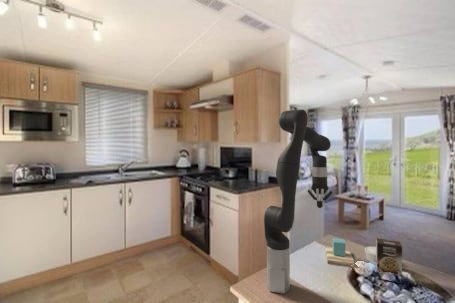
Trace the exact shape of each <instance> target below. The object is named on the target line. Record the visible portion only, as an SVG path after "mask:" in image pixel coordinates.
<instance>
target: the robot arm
mask: <svg viewBox="0 0 455 303" xmlns="http://www.w3.org/2000/svg"><path fill="white" fill-rule="evenodd" d="M308 119H309V118H308V113H307V111H306V110H305V109H290V110H285V111H282V112H281V113H280V115H279V117H278V123H279V127H280V128H281V129H282V131H284V132H287V133H289V134H290V135H292V138H291V139H290V142H288V145H287V146H286V147H285V148H284V150H283V151H282V152H281V153H280V155H279V156H278V159H277V162H276V170H275V177H276V181H277V184H278V186H279V189H280V193H281V206H277V205H269V206H268V207H266V210H265V212H264V215H263V222H264V223H263V225H264V237H265V238H264V239H265V241H266V276H267V277H266V281H267V282H266V286H267V288H268V290H269V292H271V293H278V294H284V295H285V294H286V293H287V292H289V291H290V289H291V277H290V275H291V273H290V272H291V271H290V270H291V268H290V266H291V264H290V263H291V262H290V261H291V260H290V257H291V256H290V253H291V252H290V249H291V248H290V246H291V244H290V239H289V238H288V236H286V235H285V234H284V233H289V232H290V231H291V230H292V229H293V226H294V222H295V213H296V212H295V209H296V195H297V194H296V193H297V185H298V180H299V173H300V166H301V158H302V151H303V144H304V142H305V143H306V144H308V147H309V151H310V154H311V159H312V170H311V187H310V188H309V189H307V193H308V194H309V195H310V197H311V198H312V199H313V200H314V201H316V207H317V208H318V209H322V208H323V206H324V203H323V202H324V201H327V200H328V199H329V198H330V197H331V195H332V194H333V193H334V192H333V190H331V189H329V186H328V165H327V164H328V162H327V160H328V158H327V156H325V155H322V154H320V153H319V152H328V150H330V148H331V141H330V139H329V138H328V137H327V136H324V135H322V134H319V133H318V132H317V131H316V130H315V129H313V128H312V127H308V121H309V120H308ZM313 192H314V193H313ZM314 194H315V195H316V196H315V195H314Z"/></svg>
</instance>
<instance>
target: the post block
mask: <svg viewBox="0 0 455 303" xmlns="http://www.w3.org/2000/svg"><path fill="white" fill-rule="evenodd" d="M324 251H325V256H326V261H327V262H326V263H327V264H328V265H334V266H342V267H348V268H349V267H350V266H351V265H353V264H354V262H355V261H354V258H353V256H352V252H351V251H350V248H345V256H339V255H334V254H333V246H324ZM350 268H351V267H350Z"/></svg>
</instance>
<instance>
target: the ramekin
mask: <svg viewBox="0 0 455 303" xmlns="http://www.w3.org/2000/svg"><path fill="white" fill-rule="evenodd" d="M364 252H365V256H366V260H367V261H368V262H369V261H370V263H371V262H375V263H376V246H366V247H365V248H364Z"/></svg>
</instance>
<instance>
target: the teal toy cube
mask: <svg viewBox="0 0 455 303" xmlns="http://www.w3.org/2000/svg"><path fill="white" fill-rule="evenodd" d="M332 247H333V254H334V255H339V256H345V249H346V241H345V239H344V238H336V237H332Z"/></svg>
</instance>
